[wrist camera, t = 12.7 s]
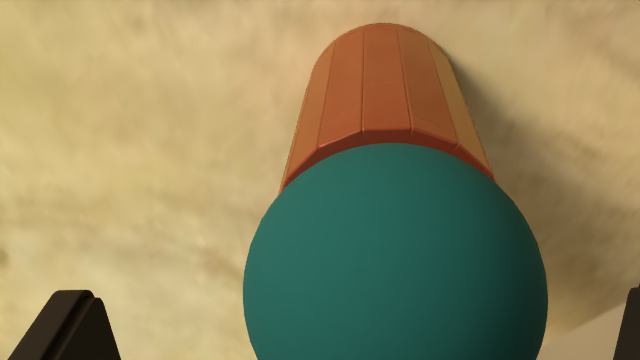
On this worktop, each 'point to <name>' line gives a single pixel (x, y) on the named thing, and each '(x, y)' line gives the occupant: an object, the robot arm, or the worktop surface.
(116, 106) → the worktop surface
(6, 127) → the worktop surface
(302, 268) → the ball
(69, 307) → the robot arm
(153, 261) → the worktop surface
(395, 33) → the tumbler
